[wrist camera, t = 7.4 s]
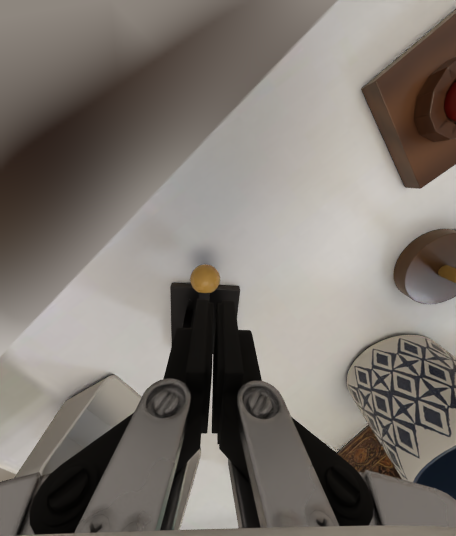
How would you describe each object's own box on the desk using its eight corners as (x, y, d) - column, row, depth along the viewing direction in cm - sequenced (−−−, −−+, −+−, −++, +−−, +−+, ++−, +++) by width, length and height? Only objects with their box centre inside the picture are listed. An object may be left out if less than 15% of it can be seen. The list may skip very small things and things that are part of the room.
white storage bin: (40, 411, 38) (-36, 514, 27) (110, 371, 35) (59, 466, 24) (140, 476, 47) (115, 574, 36) (202, 447, 44) (197, 544, 33)
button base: (361, 89, 23) (389, 72, 19) (460, 5, 20) (513, -32, 17) (404, 187, 26) (435, 189, 23) (491, 126, 24) (540, 117, 21)
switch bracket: (172, 282, 30) (146, 344, 19) (239, 285, 31) (251, 347, 20) (173, 347, 34) (152, 428, 23) (232, 349, 35) (239, 428, 24)
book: (383, 411, 42) (581, 695, 19) (403, 419, 44) (613, 695, 21) (329, 459, 48) (435, 727, 25) (349, 465, 49) (467, 725, 26)
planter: (326, 386, 39) (382, 496, 26) (389, 317, 34) (500, 411, 21) (392, 411, 42) (472, 519, 29) (459, 352, 37) (593, 450, 24)
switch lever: (192, 265, 26) (190, 261, 23) (220, 267, 26) (221, 263, 23) (184, 384, 24) (180, 397, 21) (214, 384, 25) (214, 397, 21)
